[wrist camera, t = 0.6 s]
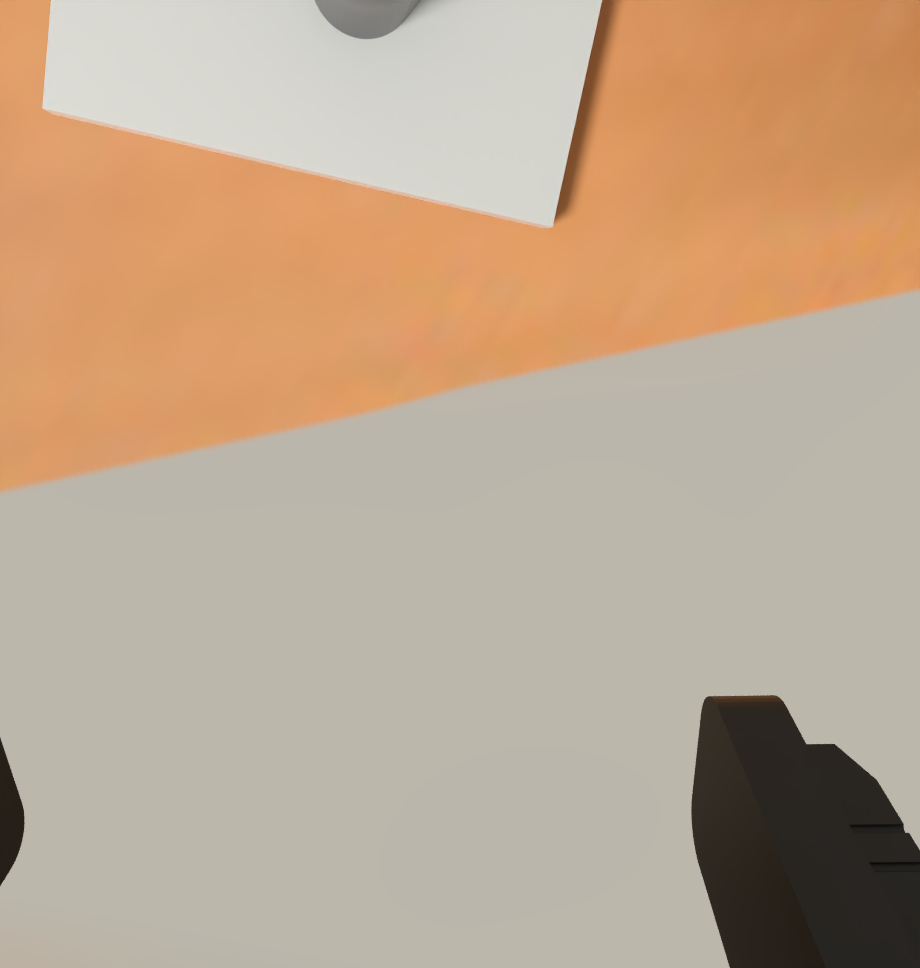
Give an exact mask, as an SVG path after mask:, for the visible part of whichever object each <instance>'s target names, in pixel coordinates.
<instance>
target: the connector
mask: <svg viewBox="0 0 920 968" xmlns="http://www.w3.org/2000/svg"><path fill="white" fill-rule="evenodd" d="M420 1H421V0H315V2H316V5H317V6H318V8H319V10H320V12H321V13H322V15H323V16H324V17H325V18H326V20H327V21H328V22H329V23H330V24H331V25H332V26H334V27H335V28H336V29H338V30H339V31H341V32H342V33H344V34H346V35H349V36H351V37H354V38H359V39H375V38H379V37H383V36H385V35H387V34H389V33H391V32H393V31H394V30H395V29H396V28H398V27H399V26H400V25H401V24H402V23H403V22H404V20H405V19H406V18H407V17H408V15H409V14H410V13H411V12H412V10H413V9H414V8H415V7H416V6H417V4H418V3H419V2H420Z"/></svg>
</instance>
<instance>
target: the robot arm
mask: <svg viewBox="0 0 920 968" xmlns="http://www.w3.org/2000/svg"><path fill="white" fill-rule="evenodd" d="M903 825H904V824H903V822H902V821H901V819H900V817H899V816H898V814H897V813H896V811H895V809H894V808H893V806H892V805H891V803H890V801H889V799H888V798H887V796H886V794H885V793H884V791H883V790H882V788H881V786H880V785H879V783H878V781H877V780H876V779H875V778H874V777H872V776H871V775H870V774H869V773H868V772H867V771H865V770H864V769H863V768H862V767H861V766H860V765H858V764H857V763H856V762H855V761H854V760H852V759H851V758H850V757H849V756H848V755H847V754H845V753H844V752H843V751H842V750H841V749H840V748H838V747H837V746H836V745H835V744H806V743H805V741H804V739H803V737H802V735H801V733H800V732H799V730H798V728H797V726H796V724H795V722H794V720H793V718H792V717H791V715H790V713H789V711H788V709H787V707H786V705H785V704H784V702H783V701H782V700H781V699H780V698H779V697H778V696H773V695H771V696H709V697H706V699H705V700H704V703H703V706H702V712H701V720H700V730H699V738H698V748H697V757H696V766H695V775H694V785H693V794H692V829H693V838H694V845H695V850H696V855H697V859H698V863H699V866H700V870H701V873H702V877H703V880H704V883H705V886H706V890H707V893H708V896H709V900H710V903H711V906H712V910H713V913H714V916H715V920H716V923H717V926H718V929H719V933H720V936H721V940H722V943H723V946H724V950H725V953H726V956H727V960H728V963H729V966H730V968H920V850H919V848H918V847H917V845H916V844H915V842H914V840H913V839H912V837H911V836H910V834H909V833H905V831H904V827H903ZM23 832H24V810H23V805H22V802H21V799H20V796H19V793H18V790H17V787H16V784H15V781H14V778H13V775H12V772H11V769H10V766H9V763H8V760H7V757H6V754H5V751H4V748H3V745H2V742H1V739H0V885H1V884H2V882H3V881H4V879H5V877H6V876H7V874H8V873H9V871H10V869H11V867H12V866H13V864H14V862H15V860H16V858H17V855H18V853H19V850H20V846H21V843H22V838H23Z"/></svg>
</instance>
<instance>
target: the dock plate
mask: <svg viewBox="0 0 920 968" xmlns="http://www.w3.org/2000/svg"><path fill="white" fill-rule="evenodd" d="M601 4H602V0H421V1H420V2H419V3H418V4H417V6H416V7H415V8H414V9H413V10H412V12H411V13H410V14H409V15H408V17H407V18H406V19H405V20H404V22H403V23H402V24H401V25H400V26H399V27H398V28H396V29H395V30H394V31H393V32H391V33H389V34H387V35H385V36H383V37H379V38H375V39H359V38H354V37H351V36H349V35H346V34H344V33H342V32H341V31H339V30H338V29H336V28H335V27H334V26H332V25H331V24H330V23H329V22H328V21H327V20H326V18H325V17H324V16H323V15H322V13H321V12H320V10H319V8H318V6H317V5H316V2H315V0H51V9H50V21H49V33H48V46H47V58H46V70H45V83H44V95H43V109H45V110H46V111H48V112H50V113H52V114H53V115H57V116H62V117H66V118H70V119H75V120H79V121H83V122H87V123H92V124H96V125H100V126H105V127H109V128H113V129H118V130H122V131H126V132H131V133H135V134H139V135H143V136H148V137H152V138H156V139H161V140H165V141H169V142H174V143H178V144H182V145H186V146H191V147H195V148H199V149H204V150H208V151H212V152H217V153H221V154H225V155H230V156H234V157H238V158H242V159H247V160H251V161H255V162H260V163H264V164H268V165H273V166H277V167H281V168H285V169H290V170H294V171H298V172H303V173H307V174H311V175H316V176H320V177H324V178H329V179H333V180H337V181H341V182H346V183H350V184H354V185H359V186H363V187H367V188H372V189H376V190H380V191H384V192H389V193H393V194H397V195H402V196H406V197H410V198H415V199H419V200H423V201H428V202H432V203H436V204H440V205H445V206H449V207H453V208H458V209H462V210H466V211H471V212H475V213H479V214H483V215H488V216H492V217H496V218H501V219H505V220H509V221H514V222H518V223H522V224H527V225H531V226H535V227H539V228H551V227H553V222H554V218H555V213H556V209H557V204H558V199H559V195H560V190H561V186H562V181H563V177H564V172H565V168H566V163H567V158H568V154H569V149H570V145H571V140H572V136H573V131H574V127H575V122H576V117H577V113H578V108H579V104H580V99H581V95H582V90H583V86H584V81H585V76H586V72H587V67H588V63H589V58H590V54H591V49H592V45H593V40H594V36H595V31H596V26H597V22H598V17H599V13H600V8H601Z"/></svg>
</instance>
